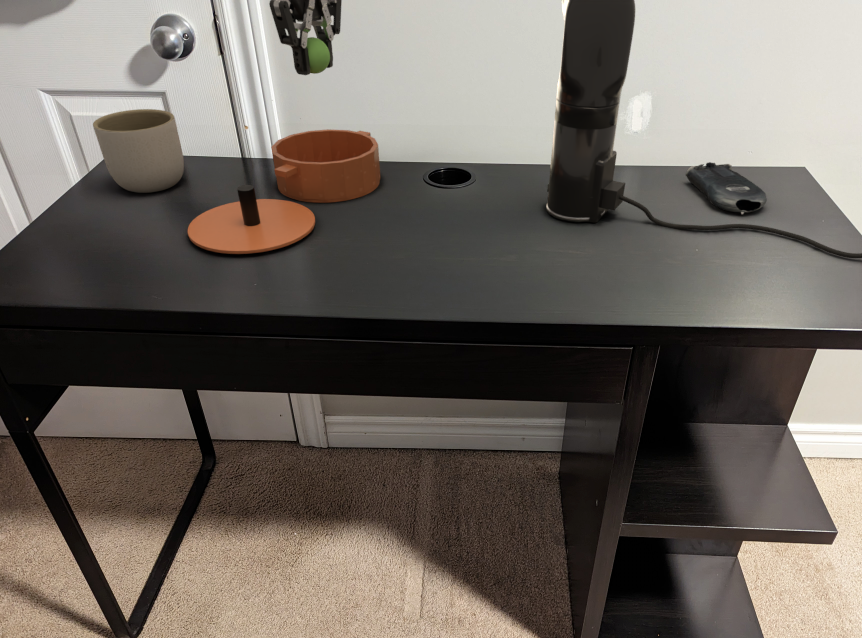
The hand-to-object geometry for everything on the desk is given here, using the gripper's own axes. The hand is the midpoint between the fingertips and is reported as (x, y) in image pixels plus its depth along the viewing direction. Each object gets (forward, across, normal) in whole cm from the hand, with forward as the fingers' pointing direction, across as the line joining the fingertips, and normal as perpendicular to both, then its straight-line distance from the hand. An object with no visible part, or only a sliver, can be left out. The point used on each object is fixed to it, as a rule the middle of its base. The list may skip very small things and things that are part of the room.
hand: (315, 70), depth 105 cm
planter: (+19, -13, +28) cm, 37 cm away
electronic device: (+19, +30, -60) cm, 70 cm away
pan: (+19, +2, +2) cm, 19 cm away
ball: (-2, 0, 0) cm, 2 cm away
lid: (+18, -19, 0) cm, 26 cm away
